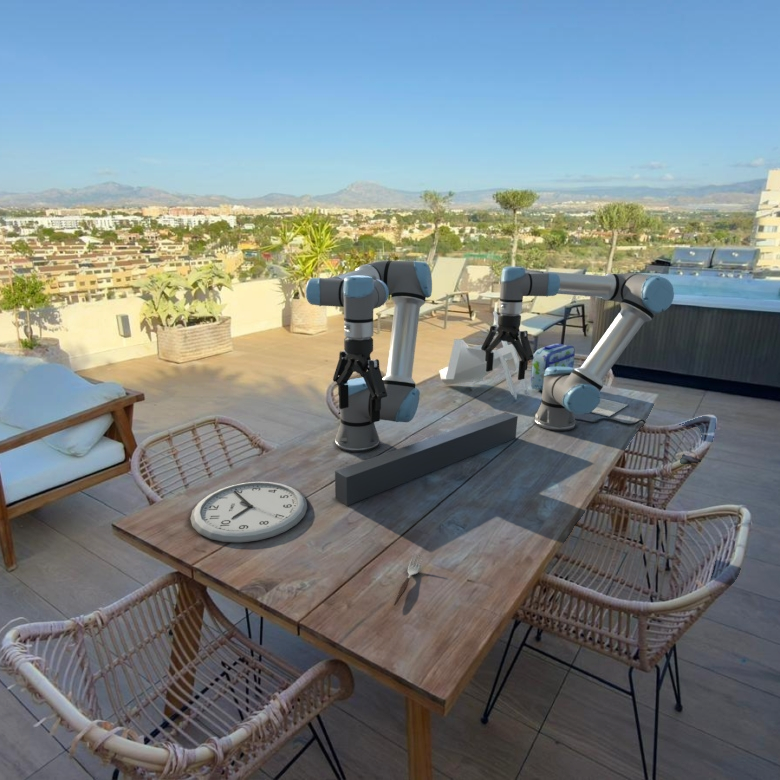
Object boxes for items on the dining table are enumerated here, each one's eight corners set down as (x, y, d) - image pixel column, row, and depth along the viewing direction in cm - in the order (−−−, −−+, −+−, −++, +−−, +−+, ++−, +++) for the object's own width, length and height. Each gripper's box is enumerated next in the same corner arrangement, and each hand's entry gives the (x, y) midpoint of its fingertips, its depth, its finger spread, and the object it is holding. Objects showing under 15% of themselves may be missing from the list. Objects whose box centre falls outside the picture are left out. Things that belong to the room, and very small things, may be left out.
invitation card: (608, 416, 214) (573, 407, 224) (608, 416, 214) (573, 408, 224) (628, 404, 229) (594, 396, 238) (628, 405, 229) (594, 397, 238)
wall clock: (302, 534, 126) (174, 538, 123) (303, 540, 126) (175, 544, 124) (310, 477, 154) (206, 479, 152) (310, 482, 155) (206, 484, 152)
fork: (388, 605, 105) (388, 597, 104) (412, 560, 119) (412, 553, 119) (400, 609, 104) (400, 600, 104) (423, 563, 119) (423, 555, 118)
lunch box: (547, 395, 239) (552, 351, 233) (526, 390, 247) (530, 347, 240) (574, 384, 257) (579, 343, 251) (554, 380, 264) (558, 339, 258)
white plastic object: (461, 429, 252) (437, 405, 227) (444, 352, 274) (420, 323, 250) (535, 404, 240) (518, 377, 215) (510, 326, 262) (492, 293, 237)
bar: (503, 433, 195) (505, 412, 192) (515, 438, 191) (517, 416, 188) (335, 498, 146) (334, 470, 144) (346, 505, 143) (346, 477, 140)
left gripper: (319, 331, 141) (321, 405, 148) (378, 347, 123) (377, 431, 130) (341, 328, 146) (342, 400, 152) (402, 343, 128) (400, 424, 135)
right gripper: (473, 310, 182) (470, 369, 188) (535, 320, 164) (528, 385, 170) (487, 308, 187) (483, 366, 193) (548, 317, 169) (541, 381, 175)
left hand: (358, 414), depth 141 cm, fingers open, 13 cm apart
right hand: (504, 375), depth 182 cm, fingers open, 13 cm apart
